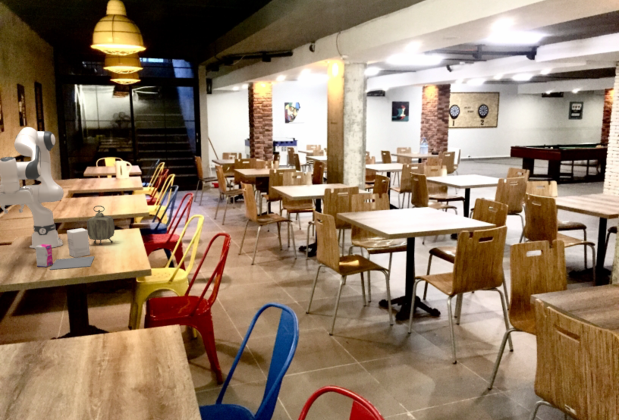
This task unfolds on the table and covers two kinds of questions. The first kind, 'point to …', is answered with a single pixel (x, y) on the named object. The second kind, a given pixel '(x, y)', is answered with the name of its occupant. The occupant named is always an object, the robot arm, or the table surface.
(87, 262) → the mat
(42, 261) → the supplement box
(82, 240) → the supplement box
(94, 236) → the tabletop clock
